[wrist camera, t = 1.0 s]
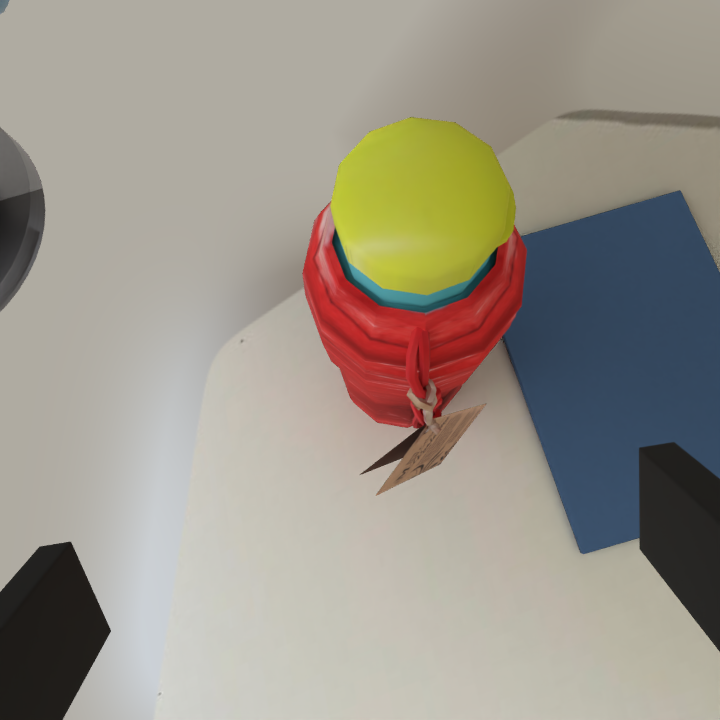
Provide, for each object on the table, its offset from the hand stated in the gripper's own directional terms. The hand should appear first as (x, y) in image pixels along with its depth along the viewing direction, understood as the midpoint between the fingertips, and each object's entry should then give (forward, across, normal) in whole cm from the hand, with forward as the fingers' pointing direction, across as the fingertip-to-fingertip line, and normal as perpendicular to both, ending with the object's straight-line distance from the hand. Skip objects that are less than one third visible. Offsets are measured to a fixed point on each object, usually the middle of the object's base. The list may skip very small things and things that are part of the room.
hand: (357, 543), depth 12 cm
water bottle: (+24, +2, -7) cm, 25 cm away
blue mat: (+24, +18, -7) cm, 31 cm away
